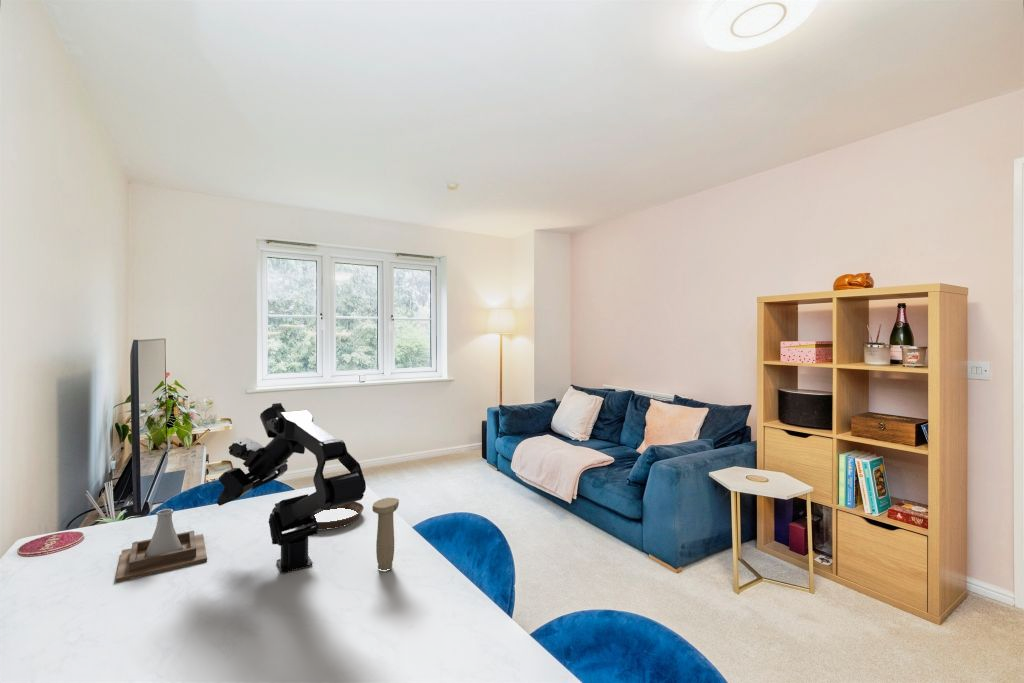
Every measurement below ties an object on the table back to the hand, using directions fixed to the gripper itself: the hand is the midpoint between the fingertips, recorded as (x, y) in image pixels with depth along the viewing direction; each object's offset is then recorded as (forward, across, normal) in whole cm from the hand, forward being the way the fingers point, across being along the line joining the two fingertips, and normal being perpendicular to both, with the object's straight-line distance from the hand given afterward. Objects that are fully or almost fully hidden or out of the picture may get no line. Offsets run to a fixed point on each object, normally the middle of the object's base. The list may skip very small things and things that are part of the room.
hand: (231, 497), depth 110 cm
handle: (-18, +4, +37) cm, 41 cm away
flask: (+19, +3, -1) cm, 20 cm away
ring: (0, -22, +20) cm, 30 cm away
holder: (+20, +3, -1) cm, 20 cm away
